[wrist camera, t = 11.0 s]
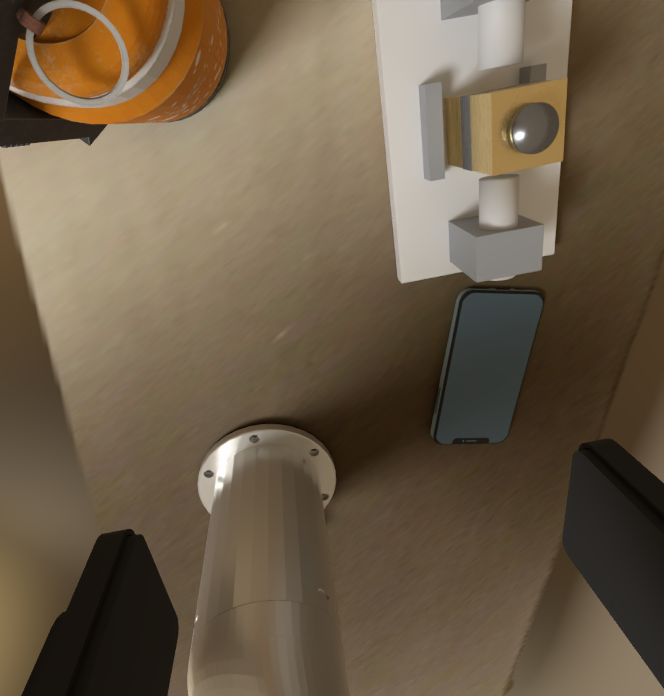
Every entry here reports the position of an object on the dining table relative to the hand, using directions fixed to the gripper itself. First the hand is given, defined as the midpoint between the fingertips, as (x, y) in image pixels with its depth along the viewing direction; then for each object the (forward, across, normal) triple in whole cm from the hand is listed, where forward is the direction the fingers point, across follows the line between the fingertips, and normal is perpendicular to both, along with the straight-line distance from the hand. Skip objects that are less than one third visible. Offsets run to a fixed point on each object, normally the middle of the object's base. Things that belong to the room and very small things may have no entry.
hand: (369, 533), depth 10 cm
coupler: (+25, -13, -7) cm, 29 cm away
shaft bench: (+26, -13, -7) cm, 30 cm away
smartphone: (+28, -15, +13) cm, 34 cm away
